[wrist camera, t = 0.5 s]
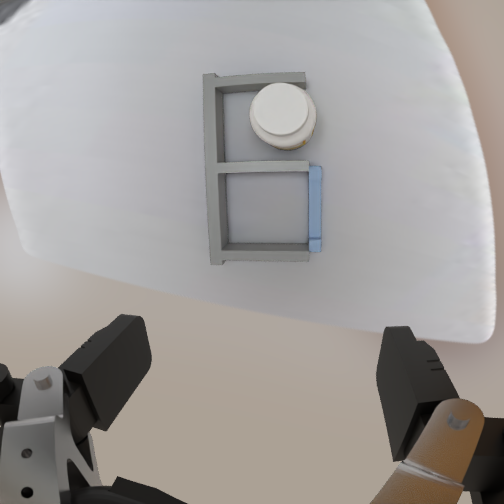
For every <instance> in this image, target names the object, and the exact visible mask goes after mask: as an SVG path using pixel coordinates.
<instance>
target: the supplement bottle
mask: <svg viewBox="0 0 504 504" xmlns="http://www.w3.org/2000/svg"><path fill="white" fill-rule="evenodd" d="M249 117H250V123H251V126H252V128H253V130H254V131H255V133H256V134H257V135H258V136H259V137H260V138H261V139H262V140H263V141H265V142H266V143H268V144H270V145H271V146H273V147H275V148H277V149H281V150H294V149H298V148H300V147H302V146H303V145H305V144H306V143H307V142H308V141H309V139H310V138H311V136H312V134H313V131H314V127H315V124H316V117H317V114H316V108H315V105H314V102H313V100H312V99H311V97H310V96H309V95H308V94H307V93H306V92H305V91H304V90H303V89H301V88H299V87H297V86H295V85H292V84H287V83H274V84H270V85H268V86H266V87H264V88H263V89H262V90H261V91H260V92H259V93H258V94H257V95H256V96H255V98H254V99H253V101H252V103H251V106H250V112H249Z"/></svg>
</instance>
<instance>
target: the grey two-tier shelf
mask: <svg viewBox="0 0 504 504" xmlns="http://www.w3.org/2000/svg"><path fill="white" fill-rule="evenodd" d="M274 83H287V84H292V85H295V86H297V87H299V88H301V89H306V77H305V72H286V73H263V74H248V75H236V76H225V77H218V76H217V75H216V74H215V73H211V74H203V118H204V151H205V176H206V197H207V216H208V233H209V249H210V263H211V265H223V264H224V262H225V261H226V260H233V261H298V262H309V244H270V243H228V227H227V205H226V181H225V173H239V172H283V171H309V161H248V162H225V154H224V123H223V93H233V92H246V91H261V90H262V89H263V88H264V87H266V86H268V85H270V84H274Z"/></svg>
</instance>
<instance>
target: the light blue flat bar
mask: <svg viewBox="0 0 504 504" xmlns="http://www.w3.org/2000/svg"><path fill="white" fill-rule="evenodd" d="M321 180H322V171H321V166H309V252H321Z"/></svg>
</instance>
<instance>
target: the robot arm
mask: <svg viewBox="0 0 504 504" xmlns="http://www.w3.org/2000/svg"><path fill="white" fill-rule="evenodd" d="M151 361H152V355H151V350H150V346H149V341H148V336H147V332H146V327H145V323H144V320H143V318H142V317H141V316H134V315H125V314H121V315H119V316H118V317H117V318H116V319H115V320H114V321H113V322H111V323H110V324H109V325H108V326H107V327H105V328H103V329H101V330H99V331H97V332H96V333H94V335H92V336H91V337H90V338H89V339H88V341H87V342H85V343H84V344H83V345H82V346H81V348H78V349H77V350H76V351H75V352H74V353H73V354H72V355H71V356H70V357H69V358H68V359H67V360H66V361H65V362H64V363H63V364H61V365H60V367H58V368H56V367H51V366H47V367H41V368H38V369H36V370H33V371H32V372H30V373H29V374H28V375H27V376H26V377H25V379H17V378H12V377H11V375H10V372H9V370H8V368H7V367H6V365H4V364H1V363H0V425H1V427H0V504H187V503H185V502H183V501H181V500H179V499H176V498H174V497H172V496H170V495H168V494H166V493H164V492H162V491H160V490H159V489H157V488H153V487H150V486H146V485H143V484H140V483H136V482H133V481H130V480H127V479H124V478H121V477H118V476H117V478H116V480H115V482H114V483H113V485H112V486H103V485H102V483H101V480H100V477H99V472H98V467H97V462H96V457H95V452H94V446H93V440H92V436H91V434H90V432H89V431H90V430H91V429H92V427H94V428H98V429H100V430H103V431H107V430H108V428H109V427H110V425H111V424H112V423H113V421H114V420H115V418H116V417H117V415H118V413H119V412H120V411H121V409H122V408H123V407H124V405H125V404H126V402H127V401H128V399H129V398H130V396H131V395H132V394H133V392H134V391H135V389H136V388H137V386H138V385H139V383H140V382H141V381H142V379H143V378H144V376H145V375H146V374H147V372H148V370H149V369H150V366H151ZM376 379H377V380H376V381H377V387H378V391H379V395H380V400H381V404H382V408H383V413H384V418H385V422H386V427H387V432H388V436H389V442H390V447H391V452H392V457H393V462H395V461H402V462H401V463H400V464H399V465H398V467H397V468H396V470H395V471H394V473H393V474H392V475H391V477H390V478H389V479H388V481H387V482H386V483H385V485H384V486H383V488H382V489H381V490H380V491H379V493H378V494H377V495H376V496H375V498H374V499H373V500H372V502H371V503H370V504H457V502H458V500H459V498H460V496H461V494H462V491H470V494H471V499H472V503H473V504H504V418H488V417H484V415H483V412H482V411H481V409H480V408H479V407H478V406H477V405H475V404H474V403H472V402H470V401H468V400H465V399H460V398H459V396H458V393H457V391H456V389H455V388H454V386H453V384H452V382H451V380H450V378H449V376H448V374H447V372H446V370H444V366H443V364H442V363H441V361H440V359H439V357H438V355H437V353H436V352H435V350H434V349H433V348H432V347H431V346H430V345H428V344H427V343H426V342H425V341H417V340H416V338H415V336H414V335H413V333H412V331H411V329H410V327H409V326H394V327H386V328H385V330H384V334H383V339H382V344H381V350H380V355H379V360H378V365H377V372H376ZM403 460H405V461H403Z"/></svg>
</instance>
